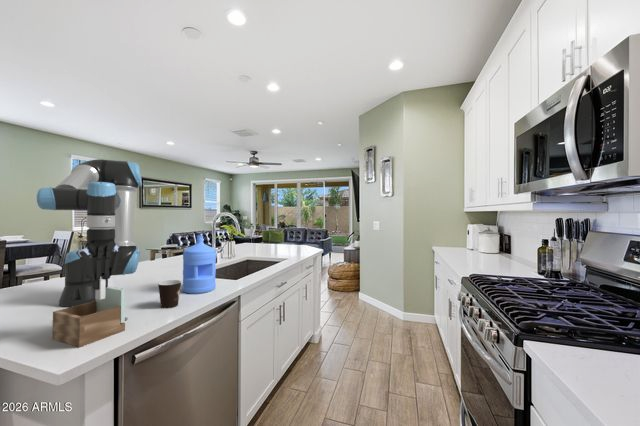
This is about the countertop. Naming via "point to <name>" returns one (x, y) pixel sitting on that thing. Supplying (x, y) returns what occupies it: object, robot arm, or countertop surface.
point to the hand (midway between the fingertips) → (100, 298)
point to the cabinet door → (113, 301)
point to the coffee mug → (169, 293)
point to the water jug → (199, 268)
